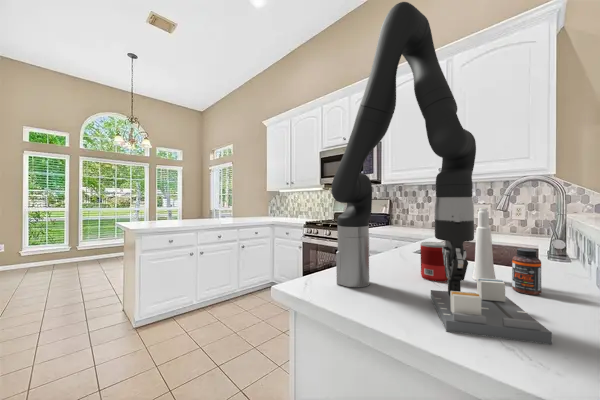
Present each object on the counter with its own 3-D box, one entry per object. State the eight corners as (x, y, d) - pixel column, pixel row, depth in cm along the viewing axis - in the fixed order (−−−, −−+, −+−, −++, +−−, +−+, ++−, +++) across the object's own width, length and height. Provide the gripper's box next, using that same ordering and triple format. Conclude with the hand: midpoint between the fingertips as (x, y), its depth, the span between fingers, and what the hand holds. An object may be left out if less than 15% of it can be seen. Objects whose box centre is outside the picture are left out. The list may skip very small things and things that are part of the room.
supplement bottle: (511, 292, 71) (510, 249, 71) (513, 286, 75) (512, 246, 75) (541, 297, 67) (540, 252, 67) (541, 291, 71) (541, 249, 71)
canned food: (453, 282, 80) (452, 245, 80) (424, 281, 81) (423, 245, 81) (444, 275, 87) (444, 241, 87) (418, 274, 89) (418, 241, 89)
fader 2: (481, 299, 60) (481, 280, 60) (476, 294, 63) (476, 277, 63) (505, 301, 59) (505, 282, 59) (499, 296, 61) (499, 278, 61)
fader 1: (454, 316, 51) (453, 294, 51) (450, 310, 54) (450, 289, 54) (481, 319, 50) (481, 297, 50) (476, 313, 53) (476, 291, 53)
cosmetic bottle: (467, 277, 84) (466, 208, 85) (485, 276, 85) (484, 208, 85) (482, 283, 78) (481, 208, 79) (501, 282, 79) (500, 208, 79)
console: (446, 331, 50) (446, 314, 50) (430, 297, 67) (430, 285, 67) (552, 344, 45) (552, 325, 45) (506, 304, 62) (506, 291, 62)
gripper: (430, 216, 66) (431, 285, 66) (439, 219, 54) (440, 305, 54) (465, 216, 64) (465, 288, 64) (483, 220, 51) (484, 310, 51)
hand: (454, 296), depth 59 cm, fingers closed
